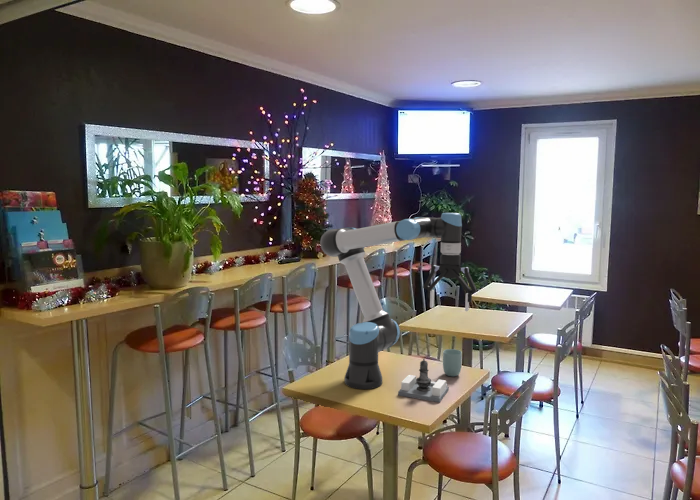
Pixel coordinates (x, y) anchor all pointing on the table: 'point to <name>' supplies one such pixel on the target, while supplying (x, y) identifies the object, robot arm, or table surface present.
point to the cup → (452, 362)
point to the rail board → (410, 390)
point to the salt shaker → (423, 377)
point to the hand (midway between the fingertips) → (449, 308)
